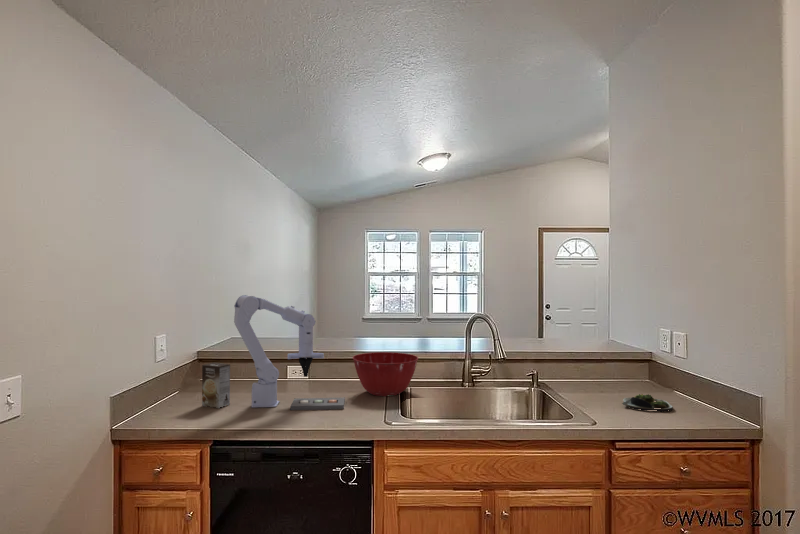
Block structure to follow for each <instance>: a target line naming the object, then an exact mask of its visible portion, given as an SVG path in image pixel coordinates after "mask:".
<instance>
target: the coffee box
mask: <svg viewBox="0 0 800 534" xmlns="http://www.w3.org/2000/svg"><path fill="white" fill-rule="evenodd" d="M201 367H202V368H201V369H202V371H201V373H202V374H201V375H202V376H201V377H202V378H201V406H202V405H203V406H202V407H207V406H210V407H209V408H213V407H216V408H215V409H221V408H220V407H222V408H224V407H223V406H225V407H227V406H226V405H228V406H230V405H231V402H230V401H231V364H228V363H220V362H210V363H206V364H202V366H201ZM229 404H230V405H229Z"/></svg>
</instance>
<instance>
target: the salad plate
mask: <svg viewBox="0 0 800 534" xmlns="http://www.w3.org/2000/svg"><path fill="white" fill-rule="evenodd" d="M654 401H656V402H654ZM621 404H622V405H624V406H625V407H627V408H628V407H630V408H634V409H641V410H657V411H668V410H671V411H672V410H673V409H674V407H673V405H672V404H670V402H668V401H667V400H664V399H659V398H654V397H653V396H652V395H651V394H649V393H648V394H646V395H645V394H643V393H641V394H640V393H639V394H636V395H635V396H632V397H624V398H623V399H622V403H621ZM630 408H629V409H630ZM654 408H661V409H654ZM634 409H633V410H634Z"/></svg>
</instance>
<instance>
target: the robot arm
mask: <svg viewBox="0 0 800 534" xmlns="http://www.w3.org/2000/svg"><path fill="white" fill-rule="evenodd" d="M233 308H234V316H233V318H234V319H233V320H234V321H233V322H234V323H233V324H234V326H235V327H236V329H237V331H238V333H239V335H240V337H241V340H242V341H243V342H244V345H245V346H246V348H247V350H248V352H249V354H250V357H251V358H252V360H253V362H254V367H255V374H256V377H257V378H258V379H257V382H253V383H252V386H251V408H276V407H277V406H278V405H279V403H280V400H278V379H279V378H280V370H279V369H278V368H277V367H275V366H274V364H273V362H272V361H271V360H270V359H269V358H268V356H267V354H266V352H265V350H264V348H263V347H262V344H261V342H260V340H259V338H258V336H257V335H256V333H255V331H254V329H253V327H252V325H251V320H252V316H254V314H255V313H256V312H257V311H258V310H259V311H261V310H266V311H269V312H272V313H275V314H277V315H279V316H281V319H282V320H283V321H286V322H289V323H292V324H294V325H296V326H298V352H295V353H294V352H293V353H287V360H292V359H293V360H296V359H298V362H299V364H300V366H301V370H302V372H303V377H304V378H305V377H306V378H308V376H309V370H310V367H311V365H312V362H313V359H325V353H323V352H314V326H315V325H316V323H317V322H316V320H315V317H314V316H313V315H312V314H310V313H305V310H299V309H297V308H295V306H294V305H287V306H285V307H283V306H282V305H279V304H277V303H274V302H272V301H270V300H267V299H266V298H265V299H264V298H262V297H257V296H254V295H248V294H243V295H240V296H238V298H237V299H236V301H235V303H234V307H233Z"/></svg>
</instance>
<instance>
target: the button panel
mask: <svg viewBox="0 0 800 534" xmlns="http://www.w3.org/2000/svg"><path fill="white" fill-rule="evenodd" d="M302 400H308V403H300V401H302ZM315 400H322V401H323V403H314V401H315ZM329 400H337V403H329ZM345 402H346V397H308V398H306V397H304V398H300V397H299V398H294V399H293V401H292V402H291V404H290V407H289V408H290V409H289V410H290V411H314V410H315V411H318V410H321V411H322V410H344V408H345Z"/></svg>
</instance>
